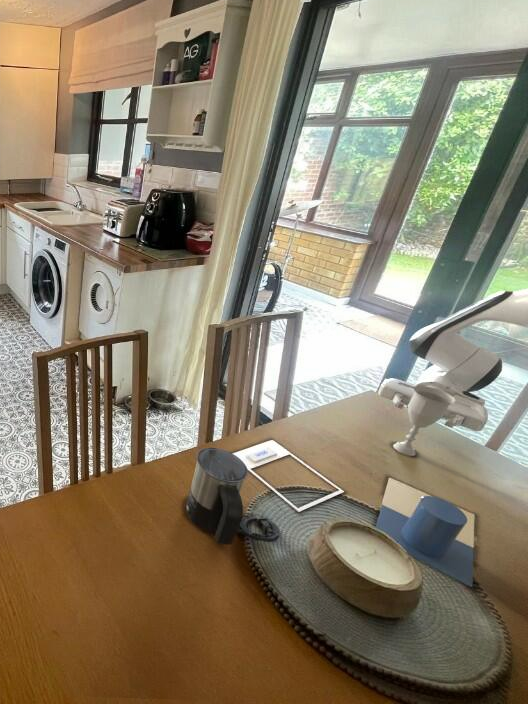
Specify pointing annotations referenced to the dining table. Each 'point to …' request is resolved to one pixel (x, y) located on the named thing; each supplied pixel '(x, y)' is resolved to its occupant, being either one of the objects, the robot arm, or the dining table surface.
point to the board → (392, 523)
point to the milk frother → (223, 498)
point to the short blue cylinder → (433, 526)
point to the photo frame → (272, 452)
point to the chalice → (424, 413)
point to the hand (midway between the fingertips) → (423, 414)
